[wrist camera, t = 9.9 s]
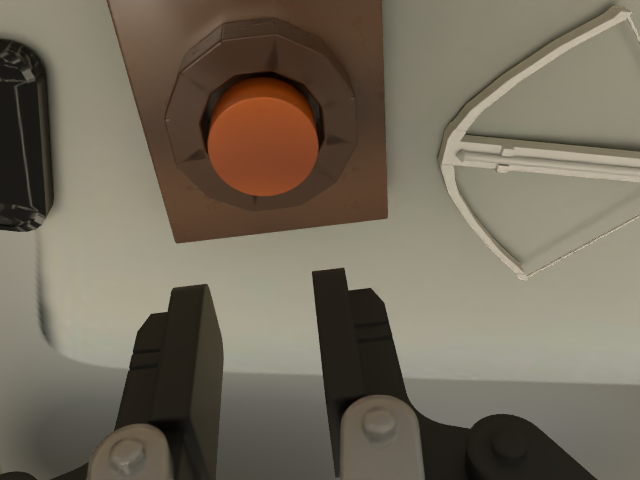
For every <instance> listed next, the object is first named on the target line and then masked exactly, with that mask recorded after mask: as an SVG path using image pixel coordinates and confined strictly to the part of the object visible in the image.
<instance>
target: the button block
mask: <svg viewBox="0 0 640 480" xmlns="http://www.w3.org/2000/svg"><path fill="white" fill-rule="evenodd" d="M107 3H108V7H109V10H110V14H111V17H112V21H113V24H114V28H115V31H116V35H117V38H118V42H119V45H120V49H121V53H122V56H123V60H124V63H125V67H126V70H127V74H128V77H129V81H130V84H131V88H132V91H133V95H134V98H135V102H136V105H137V109H138V112H139V116H140V120H141V123H142V127H143V130H144V134H145V137H146V141H147V144H148V148H149V151H150V155H151V158H152V162H153V165H154V169H155V172H156V176H157V179H158V183H159V187H160V190H161V194H162V197H163V201H164V204H165V208H166V211H167V215H168V218H169V222H170V225H171V229H172V232H173V236H174V239H175V242H176V243H185V242H193V241H202V240H210V239H219V238H227V237H236V236H244V235H253V234H261V233H270V232H278V231H287V230H295V229H303V228H312V227H320V226H329V225H337V224H346V223H354V222H363V221H371V220H380V219H387V218H388V199H387V164H386V129H385V94H384V59H383V24H382V0H107ZM255 77H270V78H275V79H279V80H281V81H284V82H286V83H288V84H290V85H292V86H293V87H295V88H296V89H297V90H298V91H300V92H301V93H302V94H303V96H304V97H305V98H306V99H307V101H308V102H309V104H310V106H311V108H312V111H313V114H314V119H315V125H316V131H317V137H318V146H319V149H318V156H317V160H316V163H315V165H314V168H313V169H312V171H311V173H310V174H309V175H308V176H307V178H306V179H305V180H304V181H303V182H302V183H300V184H299V185H298V186H296V187H295V188H293V189H291V190H289V191H287V192H285V193H281V194H278V195H273V196H255V195H250V194H246V193H243V192H241V191H238V190H236V189H234V188H233V187H231V186H230V185H228V184H227V183H226V182H225V181H223V180H222V179H221V178H220V176H219V175H218V174H217V173H216V171H215V170H214V168H213V166H212V164H211V162H210V158H209V155H208V136H209V129H210V123H211V117H212V112H213V109H214V107H215V104H216V102H217V101H218V99H219V98H220V96H221V95H222V94H223V93H224V92H225V91H226V90H227V89H228V88H230V87H231V86H233V85H234V84H236V83H238V82H240V81H243V80H246V79H249V78H255Z"/></svg>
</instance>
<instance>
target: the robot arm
mask: <svg viewBox="0 0 640 480" xmlns="http://www.w3.org/2000/svg"><path fill="white" fill-rule="evenodd" d="M312 277H313V287H314V296H315V305H316V315H317V324H318V333H319V343H320V352H321V361H322V370H323V379H324V389H325V398H326V405H327V414H328V422H329V430H330V437H331V445H332V453H333V461H334V469H335V476H336V477H340V480H597V479H596V478H595V477H594V476H592V475H591V474H590V473H589V472H588V471H587V470H586V469H585V468H583V467H582V466H581V465H580V464H579V463H578V462H577V461H575V460H574V459H573V458H572V457H571V456H570V455H569V454H567V453H566V452H565V451H564V450H563V449H562V448H561V447H560V446H558V445H557V444H556V443H555V442H554V441H553V440H552V439H550V438H549V437H548V436H547V435H546V434H545V433H544V432H542V431H541V430H540V429H539V428H537V426H535V425H534V424H533V423H531V422H529V421H527V420H525V419H523V418H520V417H517V416H514V415H508V414H496V415H490V416H487V417H485V418H483V419H481V420H479V421H478V422H477V423H475V424H474V426H473V427H472V428H471V429H468V428H462V427H456V426H450V425H444V424H441V423H438V422H435V421H432V420H430V419H428V418H426V417H425V416H423V415H422V414H421V413H419V412H418V411H417V410H416V409H415V408H414V406H413V405H412V404H411V402H410V401H409V399H408V396H407V393H406V390H405V386H404V382H403V378H402V373H401V369H400V365H399V361H398V357H397V353H396V349H395V345H394V341H393V338H392V333H391V329H390V325H389V321H388V317H387V312H386V308H385V304H384V302H383V301H382V300H381V299H380V298H379V297H378V295H377V294H376V293H375V292H374V291H373V290H372V289H371V288H366V289H358V290H350V291H348V286H347V280H346V275H345V270H344V268H338V269H329V270H321V271H313V272H312ZM223 360H224V356H223V343H222V336H221V332H220V328H219V324H218V320H217V316H216V312H215V308H214V305H213V301H212V297H211V293H210V289H209V287H208V285H207V284H202V285H193V286H185V287H177V288H173V289H172V292H171V296H170V302H169V307H168V312H164V313H155V314H151V315H150V316H149V317H148V319H147V320H146V321H145V323H144V324H143V325H142V327H141V328H140V329H139V331H138V332H137V336H136V340H135V345H134V349H133V355H132V357H131V362H130V366H129V368H130V371H128V375H127V379H126V383H125V387H124V391H123V396H122V400H121V404H120V408H119V413H118V417H117V421H116V426H115V429H114V432H112V433H111V434H109V435H108V436H106V437H105V438H104V439H103V440H102V441H101V442H100V443H99V444H98V445H97V447H96V448H95V450H94V451H93V453H92V455H91V458H90V460H89V462H88V463H86V464H85V465H83V466H81V467H79V468H77V469H75V470H73V471H71V472H68V473H66V474H63V475H61V476H58V477H56V478H53V479H51V480H215V478H216V477H215V476H216V463H217V449H218V434H219V418H220V405H221V404H220V403H221V389H222V376H223ZM0 480H37V479H36V478H35V477H33V476H32V475H30V474H28V473H25V472H8V473H4V474H1V475H0Z"/></svg>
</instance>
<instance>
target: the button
mask: <svg viewBox="0 0 640 480" xmlns="http://www.w3.org/2000/svg"><path fill="white" fill-rule="evenodd" d="M318 149H319V146H318V137H317V131H316V125H315V119H314V114H313V111H312V108H311V106H310V104H309V102H308V101H307V99H306V98H305V97H304V96H303V94H302V93H301V92H300V91H298V90H297V89H296V88H295V87H293V86H292V85H290V84H288V83H286V82H284V81H281V80H279V79H275V78H270V77H255V78H249V79H246V80H243V81H240V82H238V83H236V84H234V85H233V86H231V87H230V88H228V89H227V90H226V91H225V92H224V93H223V94H222V95H221V96H220V98H219V99H218V101H217V102H216V104H215V107H214V109H213V112H212V117H211V123H210V129H209V136H208V155H209V158H210V162H211V164H212V166H213V168H214V170H215V171H216V173H217V174H218V175H219V176H220V178H221V179H222V180H223V181H225V182H226V183H227V184H228V185H230V186H231V187H233V188H234V189H236V190H238V191H241V192H243V193H246V194H250V195H255V196H273V195H278V194H281V193H285V192H287V191H289V190H291V189H293V188H295V187H296V186H298V185H299V184H300V183H302V182H303V181H304V180H305V179H306V178H307V176H308V175H309V174H310V173H311V171H312V169H313V168H314V165H315V163H316V160H317V156H318Z"/></svg>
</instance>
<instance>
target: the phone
mask: <svg viewBox="0 0 640 480" xmlns="http://www.w3.org/2000/svg"><path fill="white" fill-rule="evenodd" d="M52 205H53V183H52V167H51V151H50V134H49V118H48V102H47V85H46V75H45V70H44V67H43V65H42V63H41V62H40V60H39V58H38V57H37V56H36V55H35V54H34V53H33V52H32V51H31V50H29V49H28V48H26V47H24V46H23V45H21V44H18V43H15V42H11V41H6V40H0V230H8V231H17V232H25V231H26V232H27V231H31V230H35V229H37V228H38V227H39V226H41V225H42V223H43V222H44V220H45V219H46V217H47V215H48V213H49V211H50V209H51V207H52Z"/></svg>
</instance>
